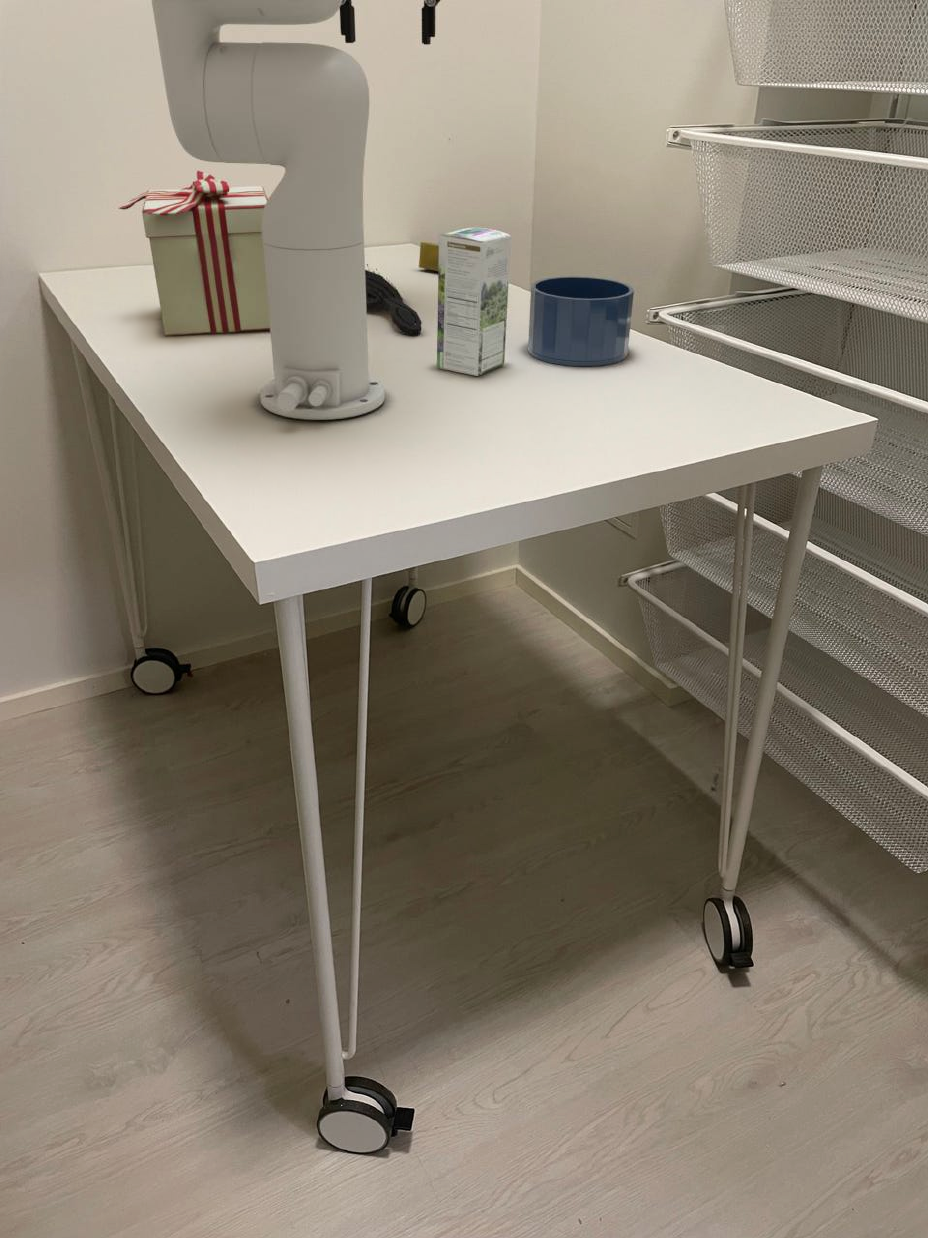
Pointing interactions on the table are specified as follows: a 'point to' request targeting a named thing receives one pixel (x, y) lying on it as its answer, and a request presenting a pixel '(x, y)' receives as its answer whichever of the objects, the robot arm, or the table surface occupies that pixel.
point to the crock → (580, 320)
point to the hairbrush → (390, 303)
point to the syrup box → (472, 300)
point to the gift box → (208, 256)
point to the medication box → (429, 255)
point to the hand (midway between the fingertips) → (388, 43)
